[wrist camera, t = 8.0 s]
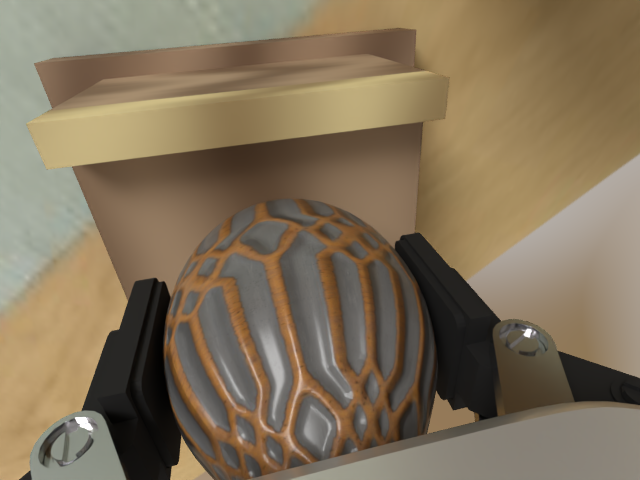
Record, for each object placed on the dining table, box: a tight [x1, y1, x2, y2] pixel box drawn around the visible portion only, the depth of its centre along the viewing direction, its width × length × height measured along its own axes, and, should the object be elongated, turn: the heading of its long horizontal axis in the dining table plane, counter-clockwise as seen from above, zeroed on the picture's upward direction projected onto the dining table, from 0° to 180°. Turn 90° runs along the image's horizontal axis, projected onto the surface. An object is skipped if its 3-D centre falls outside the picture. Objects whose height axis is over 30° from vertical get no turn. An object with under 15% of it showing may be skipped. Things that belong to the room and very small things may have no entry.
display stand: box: [26, 28, 449, 301], centre depth 17 cm, size 16×13×10 cm
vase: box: [163, 199, 438, 480], centre depth 10 cm, size 7×7×9 cm
